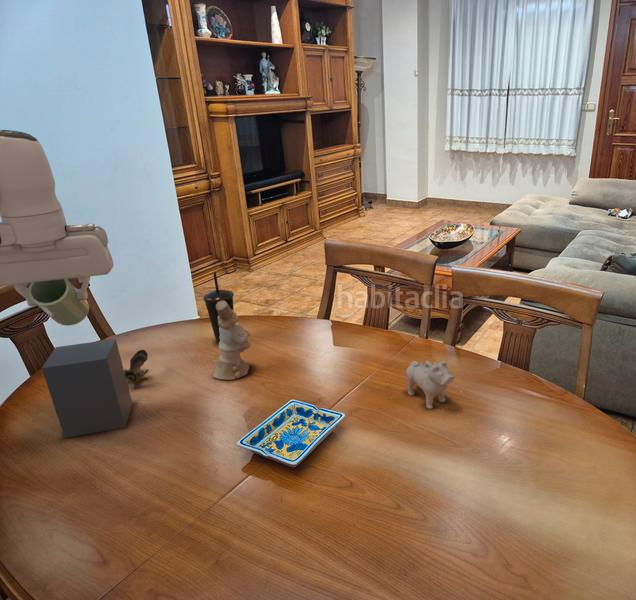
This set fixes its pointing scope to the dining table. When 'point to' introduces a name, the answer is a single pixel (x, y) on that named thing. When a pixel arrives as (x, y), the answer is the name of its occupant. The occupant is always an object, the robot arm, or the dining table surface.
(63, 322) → the green cup
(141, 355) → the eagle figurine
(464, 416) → the dining table surface
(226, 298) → the drinking cup
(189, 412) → the dining table surface
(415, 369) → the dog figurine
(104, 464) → the dining table surface
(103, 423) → the stand
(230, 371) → the figurine
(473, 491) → the dining table surface
